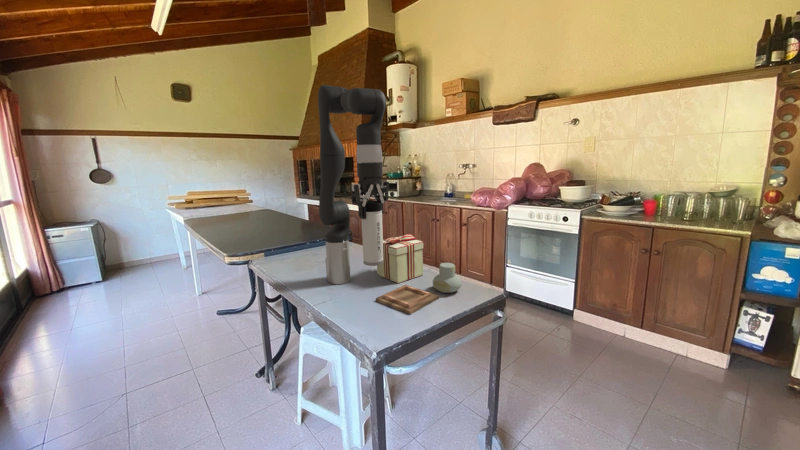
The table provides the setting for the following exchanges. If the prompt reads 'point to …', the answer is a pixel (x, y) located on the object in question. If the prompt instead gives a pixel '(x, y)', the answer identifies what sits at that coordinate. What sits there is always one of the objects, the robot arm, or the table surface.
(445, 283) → the air freshener
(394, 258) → the gift box
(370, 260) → the travel mug
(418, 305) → the tan square plate
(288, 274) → the table surface
